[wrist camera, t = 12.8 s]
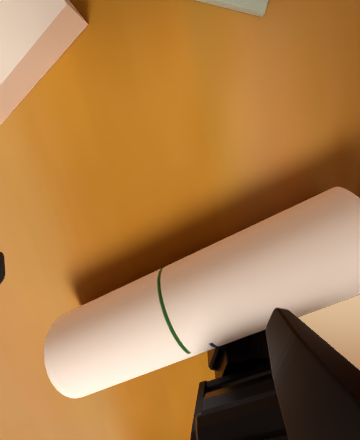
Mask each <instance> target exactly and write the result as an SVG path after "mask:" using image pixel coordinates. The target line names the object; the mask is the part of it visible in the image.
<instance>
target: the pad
mask: <svg viewBox="0 0 360 440" xmlns="http://www.w3.org/2000/svg"><path fill="white" fill-rule="evenodd" d="M196 1H200V2H204V3H208V4H212V5H216V6H220V7H224V8H228V9H232V10H236V11H240V12H244V13H248V14H252V15H256V16H260V17H263V15H264V14H265V11H266V7H267V4H268V0H196Z"/></svg>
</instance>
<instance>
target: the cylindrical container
mask: <svg viewBox="0 0 360 440" xmlns="http://www.w3.org/2000/svg"><path fill="white" fill-rule="evenodd" d="M359 294H360V198H359V197H358V196H356V195H355V194H353V193H352V192H351V191H349V190H347V189H345V188H342V187H333V188H331V189H329V190H327V191H325V192H322V193H320V194H318V195H316V196H314V197H312V198H310V199H308V200H305V201H303V202H301V203H299V204H297V205H295V206H293V207H291V208H288V209H286V210H284V211H282V212H280V213H278V214H276V215H274V216H271V217H269V218H267V219H265V220H263V221H261V222H259V223H257V224H254V225H252V226H250V227H248V228H246V229H244V230H242V231H240V232H237V233H235V234H233V235H231V236H229V237H227V238H225V239H223V240H220V241H218V242H216V243H214V244H212V245H210V246H208V247H206V248H203V249H201V250H199V251H197V252H195V253H193V254H191V255H189V256H186V257H184V258H182V259H180V260H178V261H176V262H174V263H172V264H169V265H167V266H165V267H163V268H161V269H159V270H157V271H154V272H152V273H150V274H148V275H146V276H144V277H142V278H140V279H137V280H135V281H133V282H131V283H129V284H127V285H125V286H122V287H120V288H118V289H116V290H114V291H112V292H110V293H108V294H105V295H103V296H101V297H99V298H97V299H95V300H93V301H90V302H88V303H86V304H84V305H82V306H80V307H78V308H75V309H73V310H71V311H69V312H67V313H65V314H63V315H61V316H60V317H58V318H57V319H56V321H55V322H54V323H53V324H52V326H51V328H50V329H49V332H48V334H47V337H46V341H45V347H44V360H45V366H46V370H47V374H48V376H49V378H50V380H51V383H52V384H53V385H54V387H55V388H56V389H57V390H58V391H59V392H60V393H61V394H63V395H65V396H67V397H69V398H80V397H84V396H86V395H89V394H92V393H95V392H97V391H100V390H103V389H105V388H108V387H111V386H113V385H116V384H119V383H122V382H124V381H127V380H130V379H132V378H135V377H138V376H140V375H143V374H146V373H149V372H151V371H154V370H157V369H159V368H162V367H165V366H168V365H170V364H173V363H176V362H178V361H181V360H184V359H187V358H189V357H192V356H195V355H197V354H200V353H203V352H206V351H208V350H211V349H214V348H216V347H218V346H222V345H225V344H227V343H230V342H233V341H235V340H238V339H241V338H243V337H246V336H249V335H252V334H254V333H257V332H260V331H262V330H265V329H266V326H267V323H268V321H269V319H270V317H271V315H272V312H273V310H274V309H275V308H283V309H287V310H289V311H291V312H292V313H293V314H294V315H295V316H296V317H300V316H303V315H306V314H308V313H311V312H313V311H316V310H319V309H322V308H325V307H327V306H330V305H333V304H335V303H338V302H341V301H343V300H346V299H349V298H352V297H354V296H357V295H359Z"/></svg>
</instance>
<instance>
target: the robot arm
mask: <svg viewBox="0 0 360 440" xmlns="http://www.w3.org/2000/svg"><path fill="white" fill-rule="evenodd" d="M4 277H5V263H4V255H3V253H2V252H0V284H1V283H2V281H3V279H4ZM207 352H208V365H209V368H210V369H211V370H215V378H216V379H213V380H210V381H203V382H200V383H199V389H198V395H197V401H196V407H195V413H194V419H193V424H192V432H191V440H360V370H359V369H357V368H356V367H355V366H354V365H353V364H351V363H350V362H349V361H348V360H347V359H346V358H344V357H343V356H342V355H341V354H340V353H339V352H337V351H336V350H335V349H334V348H333V347H331V346H330V345H329V344H328V343H327V342H326V341H325V340H323V339H322V338H321V337H320V336H319V335H317V334H316V333H315V332H314V331H313V330H311V329H310V328H309V327H308V326H307V325H306V324H305V323H303V322H302V321H301V320H300V319H299V318H298V317H296V316H295V315H294V314H293V313H292V312H291V311H289V310H287V309H283V308H275V309H274V310H273V312H272V315H271V317H270V319H269V321H268V323H267V326H266V329H265V330H262V331H260V332H257V333H254V334H252V335H249V336H246V337H243V338H241V339H238V340H235V341H233V342H230V343H227V344H225V345H222V346H218V347H216V348H214V349H211V350H208V351H207Z"/></svg>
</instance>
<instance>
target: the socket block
mask: <svg viewBox="0 0 360 440" xmlns="http://www.w3.org/2000/svg"><path fill="white" fill-rule="evenodd" d="M87 25H88V24H87V22H86V21H85V20H84V18H83V17H82V16H81V14H80V13H79V12H78V11H77V9H76V8H75V7H74V5H73V4H72V3H71V1H70V0H0V125H1V124H2V123H3V122H4V121H5V119H6V118H7V117H8V116H9V115H10V114H11V113H12V111H13V110H14V109H15V108H16V107H17V106H18V104H19V103H20V102H21V101H22V100H23V99H24V98H25V96H26V95H27V94H28V93H29V92H30V91H31V90H32V88H33V87H34V86H35V85H36V84H37V83H38V82H39V80H40V79H41V78H42V77H43V76H44V75H45V74H46V72H47V71H48V70H49V69H50V68H51V67H52V65H53V64H54V63H55V62H56V61H57V60H58V59H59V57H60V56H61V55H62V54H63V53H64V52H65V51H66V49H67V48H68V47H69V46H70V45H71V44H72V43H73V41H74V40H75V39H76V38H77V37H78V36H79V35H80V33H81V32H82V31H83V30H84V29H85V28H86V26H87Z"/></svg>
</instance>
